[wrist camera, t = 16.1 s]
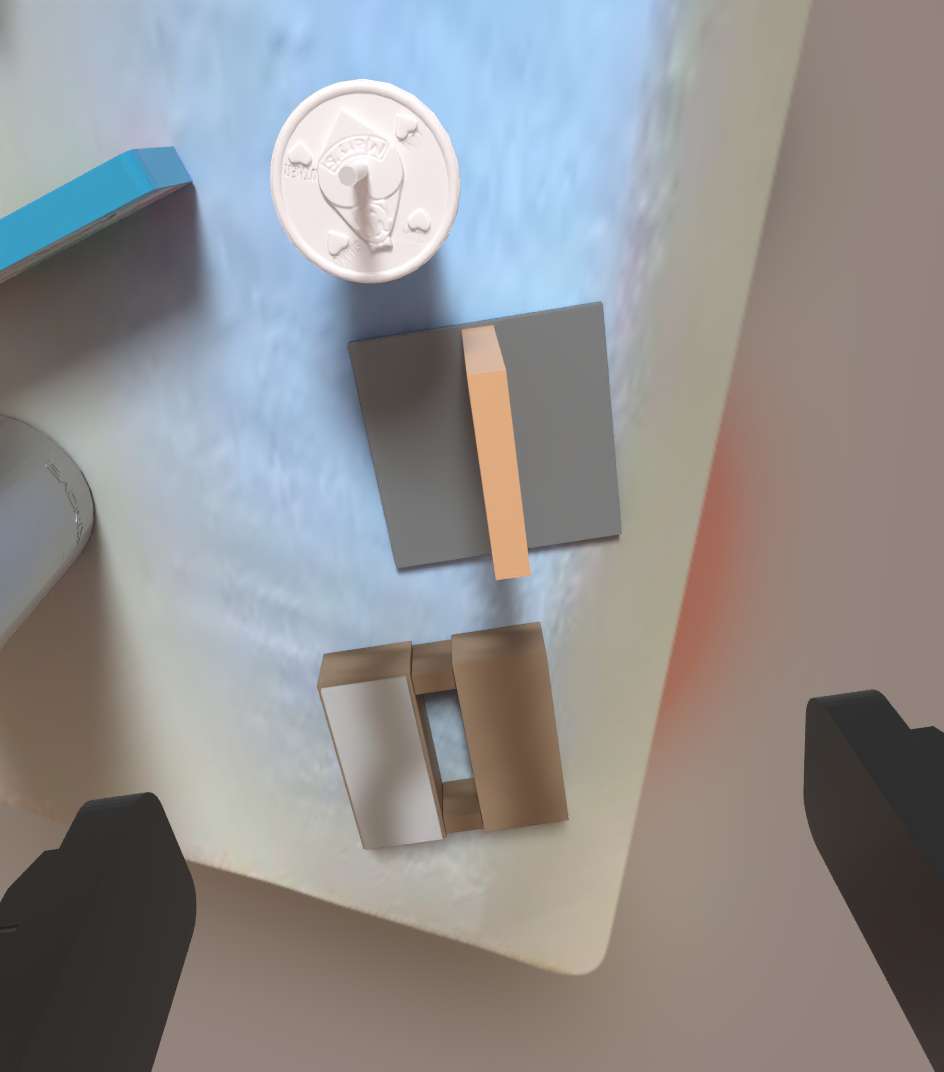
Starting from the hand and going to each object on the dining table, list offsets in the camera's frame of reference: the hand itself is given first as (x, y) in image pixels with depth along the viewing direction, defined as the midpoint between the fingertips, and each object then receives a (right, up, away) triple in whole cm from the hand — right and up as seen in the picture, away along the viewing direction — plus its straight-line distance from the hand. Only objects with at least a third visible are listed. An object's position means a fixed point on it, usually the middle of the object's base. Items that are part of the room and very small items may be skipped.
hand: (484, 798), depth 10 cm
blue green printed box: (-18, +17, +27) cm, 37 cm away
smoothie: (-4, +19, +26) cm, 33 cm away
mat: (+1, +8, +32) cm, 33 cm away
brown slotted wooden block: (-2, -8, +39) cm, 40 cm away
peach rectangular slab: (+1, +3, +29) cm, 29 cm away
